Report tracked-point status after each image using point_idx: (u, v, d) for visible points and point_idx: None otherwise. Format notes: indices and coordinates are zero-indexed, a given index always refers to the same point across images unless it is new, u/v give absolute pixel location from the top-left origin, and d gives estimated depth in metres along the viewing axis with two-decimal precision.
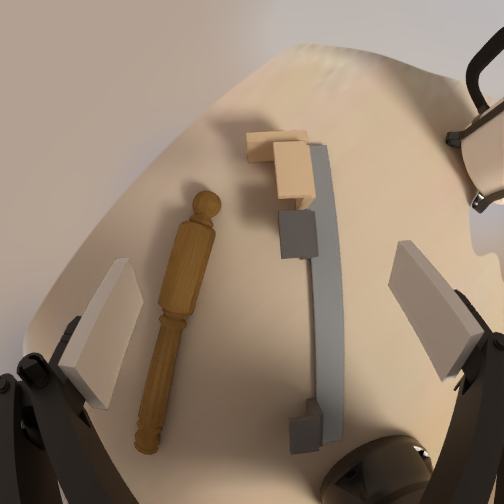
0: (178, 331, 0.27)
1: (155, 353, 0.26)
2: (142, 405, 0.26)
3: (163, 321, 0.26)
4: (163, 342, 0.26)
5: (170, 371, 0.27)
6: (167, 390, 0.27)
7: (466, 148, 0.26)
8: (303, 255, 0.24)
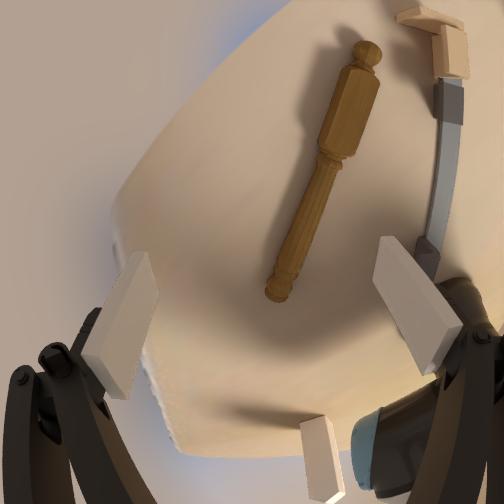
0: (336, 172, 0.27)
1: (311, 195, 0.27)
2: (287, 251, 0.30)
3: (326, 163, 0.25)
4: (322, 184, 0.27)
5: (321, 212, 0.29)
6: (314, 231, 0.30)
7: None
8: (456, 123, 0.20)
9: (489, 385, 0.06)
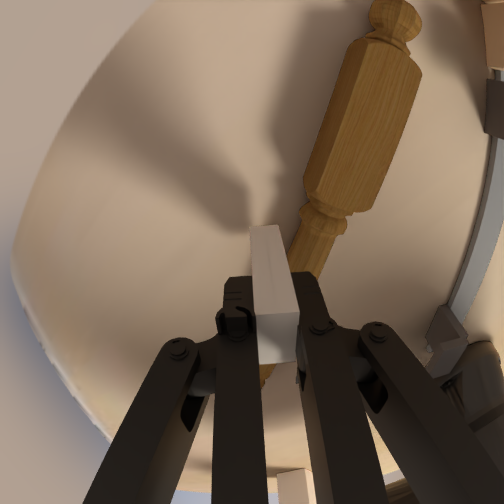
0: (335, 236, 0.15)
1: None
2: None
3: (318, 224, 0.14)
4: (310, 259, 0.15)
5: None
6: None
7: None
8: None
9: (348, 378, 0.07)
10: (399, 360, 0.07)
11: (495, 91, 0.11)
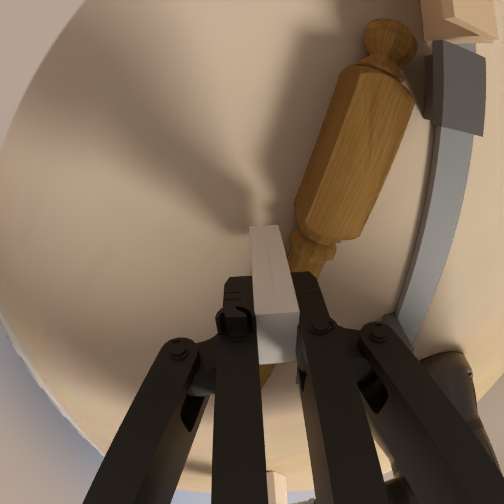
0: None
1: None
2: None
3: (307, 251, 0.15)
4: None
5: None
6: None
7: None
8: (469, 131, 0.09)
9: (348, 378, 0.07)
10: (399, 360, 0.07)
11: (433, 68, 0.11)
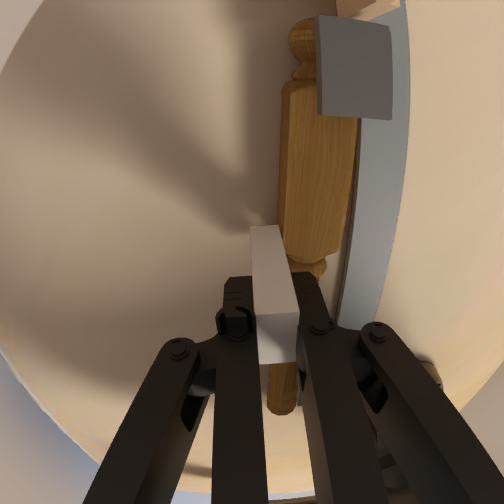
0: None
1: None
2: (276, 375, 0.21)
3: None
4: None
5: None
6: None
7: None
8: (368, 115, 0.09)
9: (348, 378, 0.07)
10: (399, 360, 0.07)
11: None
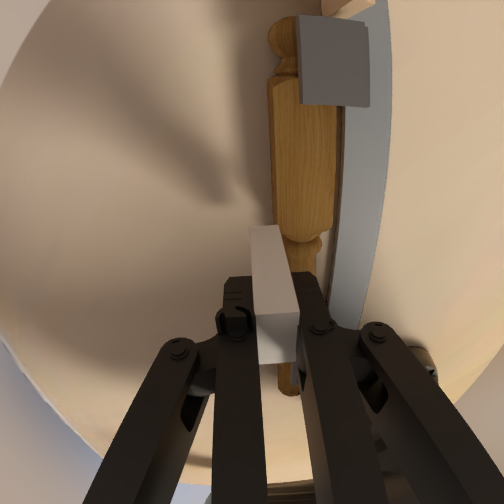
0: (314, 253, 0.18)
1: None
2: None
3: (292, 252, 0.17)
4: None
5: None
6: None
7: None
8: (345, 103, 0.10)
9: (348, 378, 0.07)
10: (399, 360, 0.07)
11: None
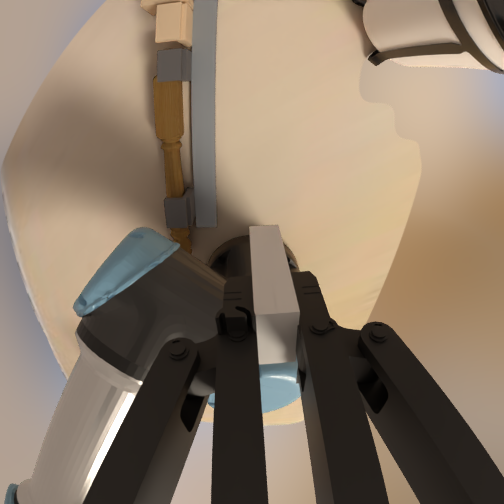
0: (177, 150, 0.35)
1: (166, 173, 0.37)
2: None
3: (164, 147, 0.34)
4: (169, 162, 0.36)
5: (181, 181, 0.38)
6: None
7: (365, 8, 0.24)
8: (172, 79, 0.28)
9: (348, 378, 0.07)
10: (399, 360, 0.07)
11: None
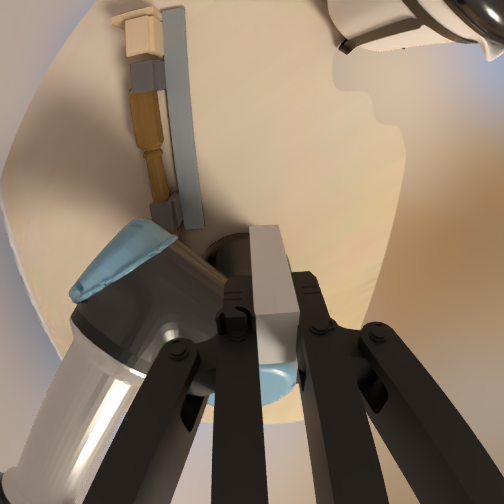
0: (158, 157, 0.36)
1: (150, 180, 0.38)
2: None
3: (146, 156, 0.36)
4: (152, 169, 0.37)
5: (165, 187, 0.39)
6: None
7: None
8: (146, 90, 0.29)
9: (348, 378, 0.07)
10: (399, 360, 0.07)
11: None
